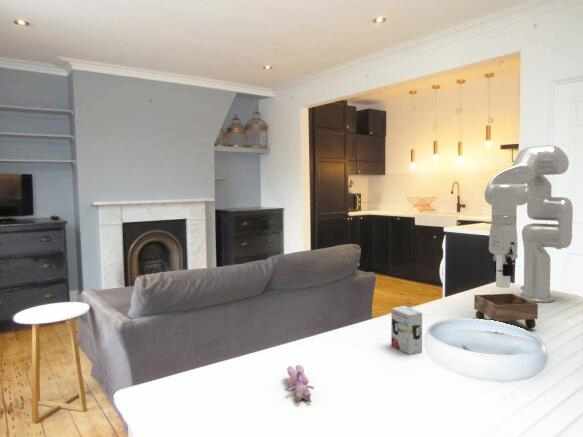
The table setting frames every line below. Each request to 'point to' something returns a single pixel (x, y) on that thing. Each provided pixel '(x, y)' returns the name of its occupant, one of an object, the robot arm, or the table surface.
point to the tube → (501, 273)
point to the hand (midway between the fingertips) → (503, 273)
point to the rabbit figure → (299, 383)
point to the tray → (506, 308)
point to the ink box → (406, 329)
